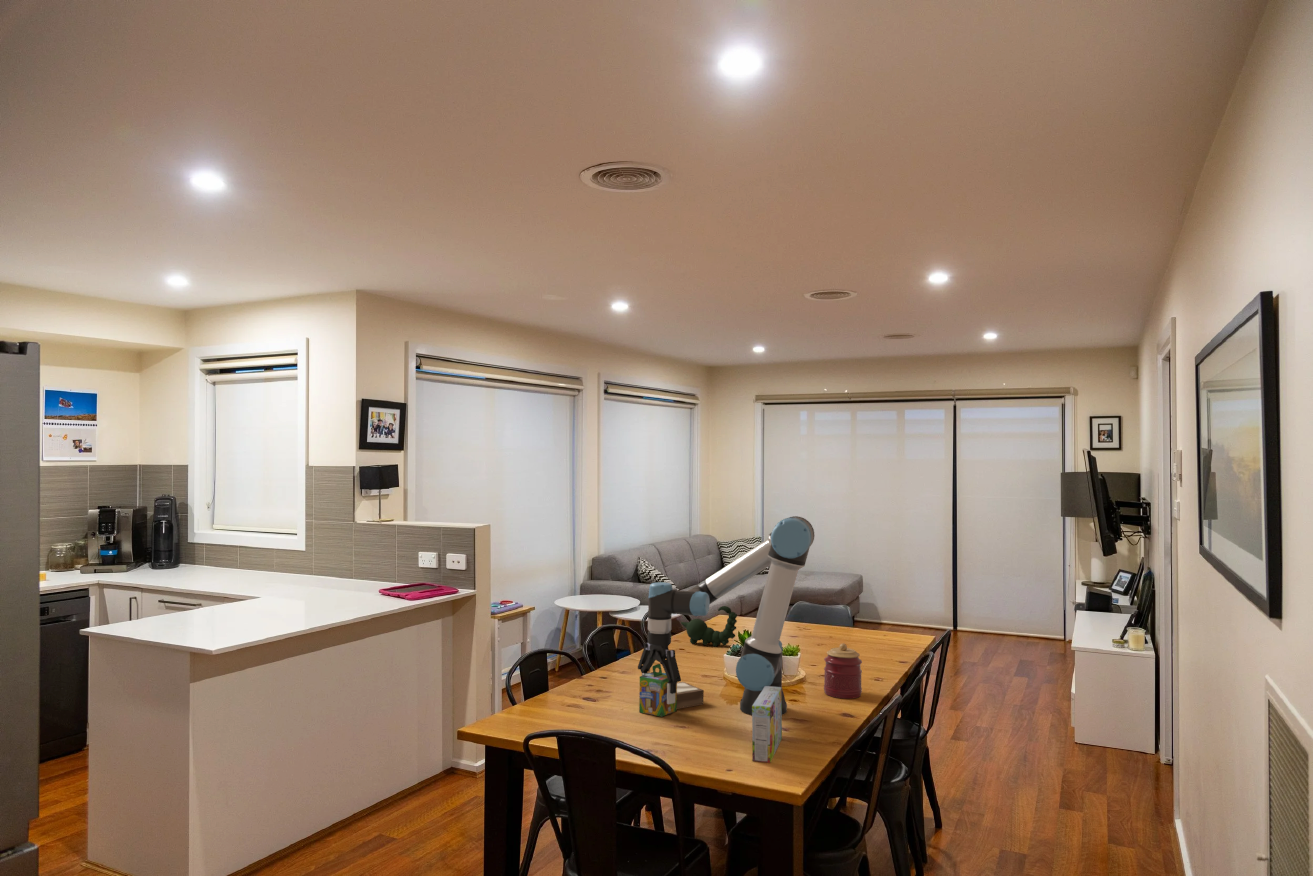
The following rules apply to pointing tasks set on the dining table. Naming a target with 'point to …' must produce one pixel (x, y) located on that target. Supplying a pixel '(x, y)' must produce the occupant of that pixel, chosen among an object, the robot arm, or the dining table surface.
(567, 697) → the dining table surface
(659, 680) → the chalk box
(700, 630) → the toy figurine
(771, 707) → the snack box
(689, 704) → the riser
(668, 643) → the robot arm
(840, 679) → the canister
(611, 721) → the dining table surface
